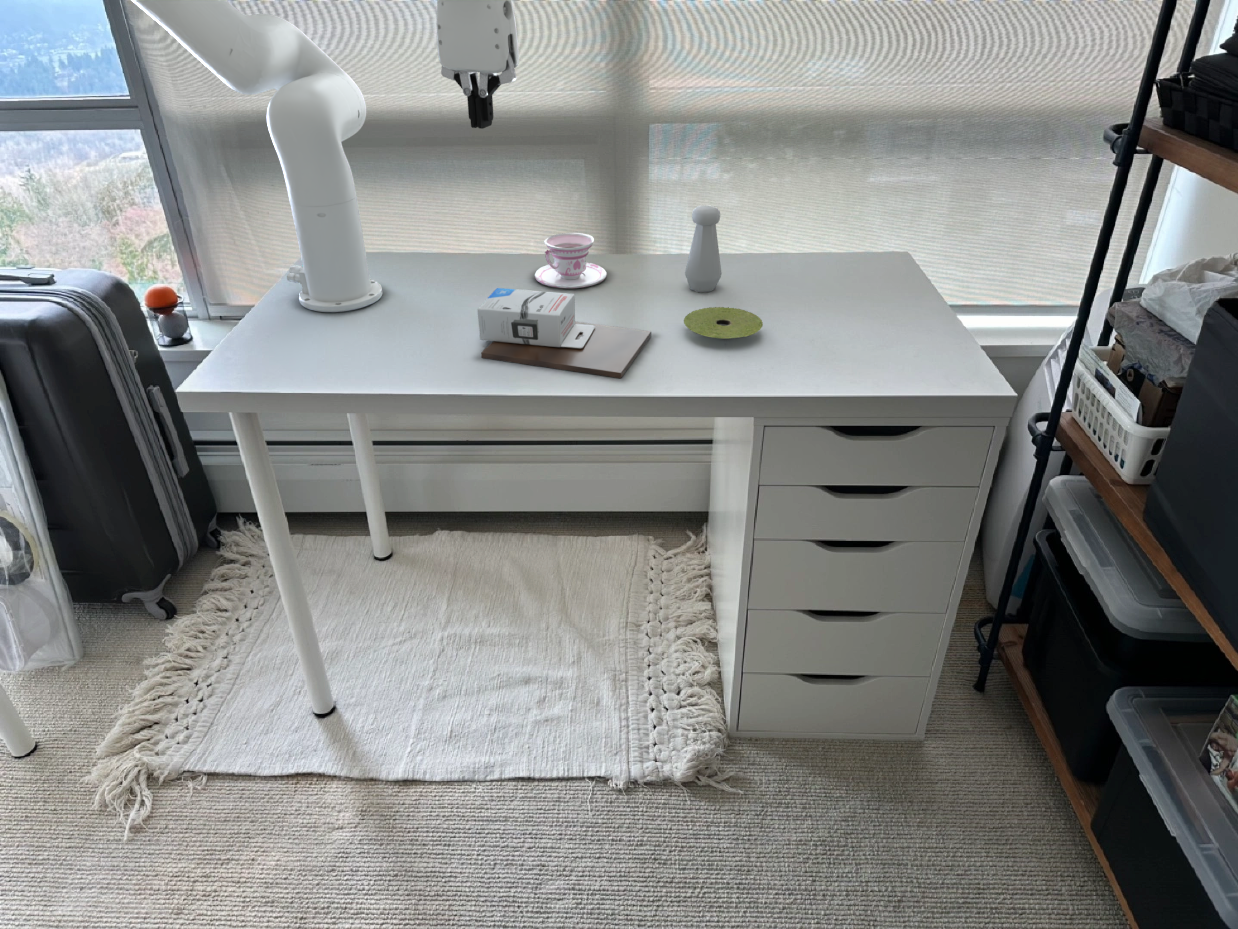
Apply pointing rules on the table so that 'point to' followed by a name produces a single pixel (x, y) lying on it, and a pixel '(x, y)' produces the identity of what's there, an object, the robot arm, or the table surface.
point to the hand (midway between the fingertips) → (481, 125)
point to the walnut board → (579, 352)
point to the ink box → (531, 319)
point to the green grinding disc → (723, 322)
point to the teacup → (569, 262)
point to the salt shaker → (704, 250)
